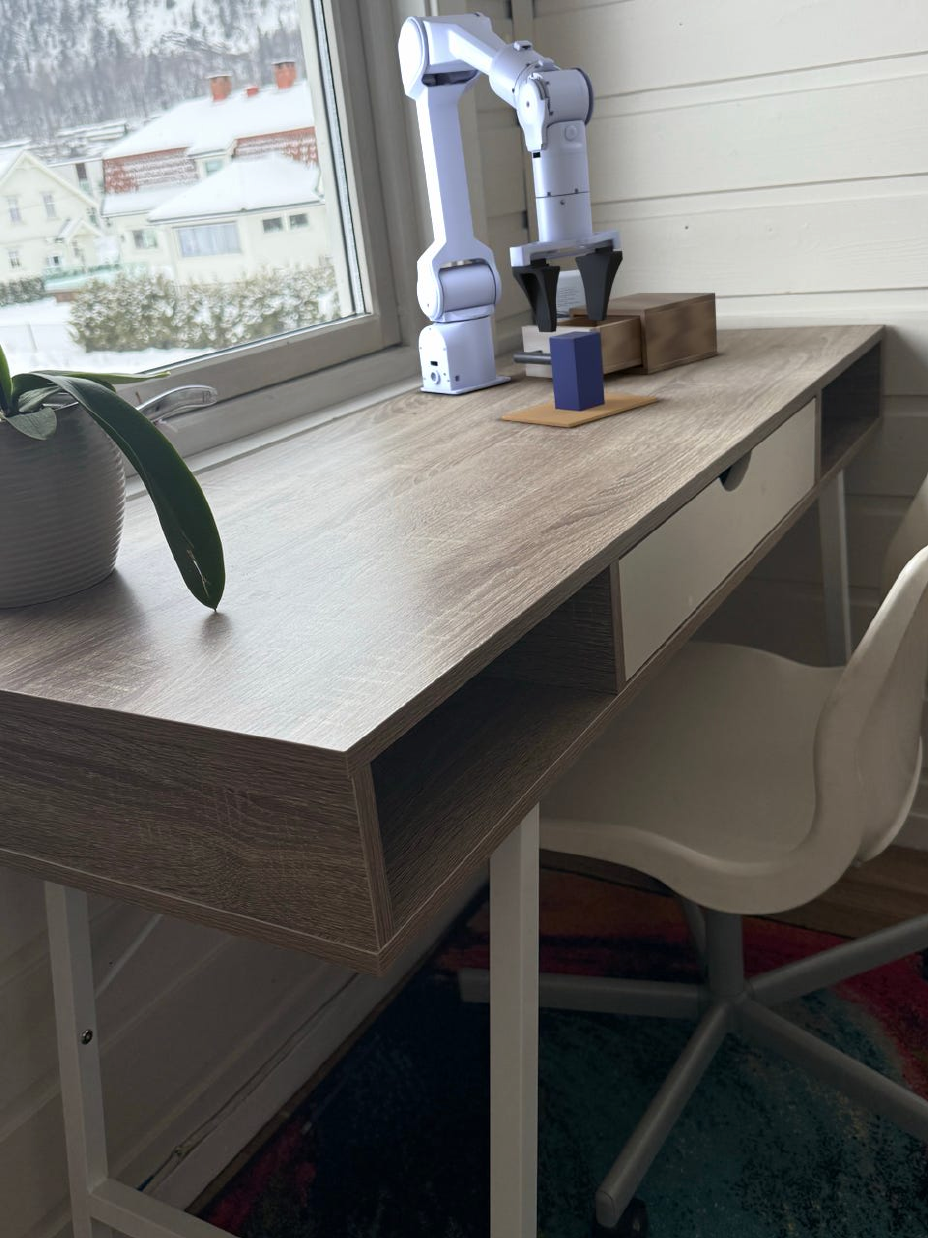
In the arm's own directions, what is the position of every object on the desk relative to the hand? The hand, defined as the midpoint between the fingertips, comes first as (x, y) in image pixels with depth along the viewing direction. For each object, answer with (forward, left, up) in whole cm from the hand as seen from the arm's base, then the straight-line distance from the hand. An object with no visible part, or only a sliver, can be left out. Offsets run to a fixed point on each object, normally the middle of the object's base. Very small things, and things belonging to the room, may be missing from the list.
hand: (573, 325), depth 126 cm
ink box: (+27, +29, -10) cm, 41 cm away
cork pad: (0, 0, -9) cm, 9 cm away
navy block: (0, 0, -9) cm, 9 cm away
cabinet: (+26, +14, -9) cm, 31 cm away
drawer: (+14, +14, -8) cm, 22 cm away
